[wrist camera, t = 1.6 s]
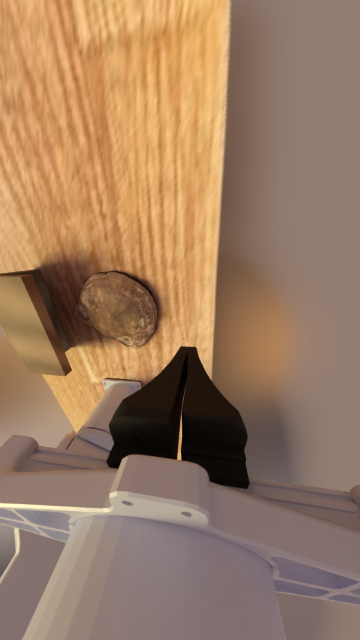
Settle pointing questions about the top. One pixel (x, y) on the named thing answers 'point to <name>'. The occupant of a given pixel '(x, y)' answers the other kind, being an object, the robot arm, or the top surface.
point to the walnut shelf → (33, 323)
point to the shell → (118, 308)
